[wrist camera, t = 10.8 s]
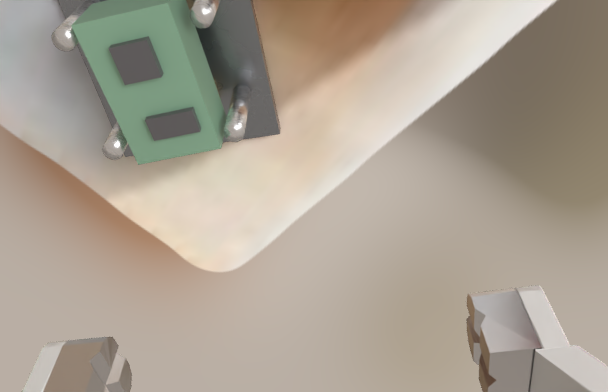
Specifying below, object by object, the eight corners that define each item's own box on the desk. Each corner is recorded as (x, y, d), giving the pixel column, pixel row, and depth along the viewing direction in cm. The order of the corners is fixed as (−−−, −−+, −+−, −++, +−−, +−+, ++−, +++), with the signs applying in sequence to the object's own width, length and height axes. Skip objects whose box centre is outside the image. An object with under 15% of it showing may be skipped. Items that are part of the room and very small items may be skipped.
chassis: (43, -51, 37) (-3, -21, 31) (233, -87, 35) (220, -63, 30) (128, 150, 46) (104, 200, 41) (280, 127, 45) (277, 176, 39)
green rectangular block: (91, 3, 35) (67, 29, 32) (180, -18, 35) (165, 6, 31) (151, 135, 41) (136, 169, 38) (227, 119, 40) (220, 153, 37)
